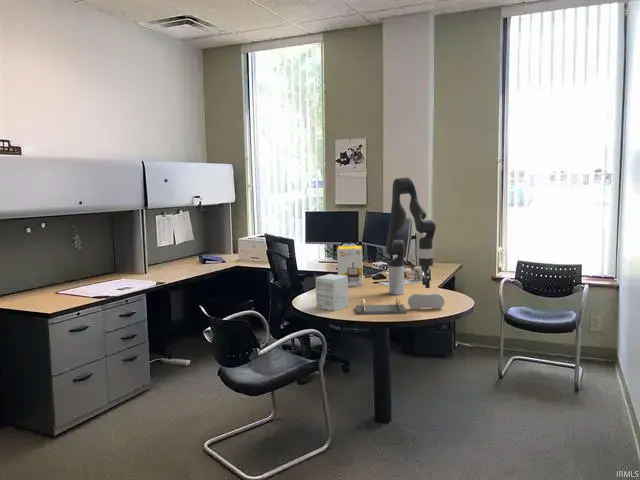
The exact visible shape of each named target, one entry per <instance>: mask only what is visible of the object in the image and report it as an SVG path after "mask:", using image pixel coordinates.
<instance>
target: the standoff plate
mask: <svg viewBox="0 0 640 480" xmlns="http://www.w3.org/2000/svg"><path fill="white" fill-rule="evenodd" d="M365 302H366V301H365V298H360V305H359V304H357V305H355V309H356V314H357V315H389V314H390V315H391V314H407V309H406V307H405V305H404V304H402V303H401V300H400V299H399V297H395V304H366V303H365Z"/></svg>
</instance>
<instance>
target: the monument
mask: <svg viewBox="0 0 640 480" xmlns="http://www.w3.org/2000/svg"><path fill="white" fill-rule="evenodd" d="M412 269H413V278H409V279H408V278H407V279H404V285H411V284H412V285H413V284H420V283H421V284H423V282H422V276H421V270H422V267H421V266H414V267H412ZM378 285H382V286H385V287H389V281H382V282H378Z"/></svg>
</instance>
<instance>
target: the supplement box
mask: <svg viewBox="0 0 640 480" xmlns="http://www.w3.org/2000/svg"><path fill="white" fill-rule="evenodd" d="M315 303H316V305H315V307H318V308H317V309H320V308H322V309H321V310H325V309H327V310H326V311H331V310H333V311H332V312H336V311H339V310H342V309H344V308H348V307H349V286H348V276H343V275H338V274H332V273H328V274H325V275H324V274H323V275H321V276H316V277H315ZM338 309H339V310H338ZM335 310H336V311H335Z"/></svg>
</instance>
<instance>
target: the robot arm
mask: <svg viewBox="0 0 640 480" xmlns="http://www.w3.org/2000/svg"><path fill="white" fill-rule="evenodd" d="M391 193H392V195H391V199H392V200H391V209H390V215H389V225H388V233H387V239H386V244H385V252H386V254H387V255H388V256H396V257H395V258H393V259H391V260H389V261H388V282H389V286H388V293H389V294H390V295H395V296H396V295H403V294H405V284H404V280H405V267H404V265H405V264H404V263H405V241H404V240H402V239H396V236H397V235H398V233H399V232H400V231H401V230H402V229H404V228H403V227H404V226H405V224H406V220H407V212H406V209H405V208H404V206H403V205H402V203H401V195H407V194H409V196H410V201H409V204H408V205H409V206H408V207H409V211H410V213H411V216H412V218H413V221H414V225H415V226H414V227H415V231H416V232H417V233H419V234H425V236H422V237H419V240H418V267H421V268H422V270H421V276H422V286H424V287H425V288H426V289H430V288H431V287H430V285H431V284H430V282H431V281H432V278H431V275H432V274H431V271H432V269H430V267H432V266H433V265H434V250H433V240H434V236H435V232H436V228H437V227H436V222H435V221H434V220H433V219H426V218H427V213H426V210H425V209H424V207H423V205H422V203H421V200H420V198H419V194H418V192H417V189H416V186H415V183H414V181H413V179H412V178H411V177H409V176H408V177H398V178H395V179H394V180H393V183H392V191H391Z"/></svg>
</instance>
